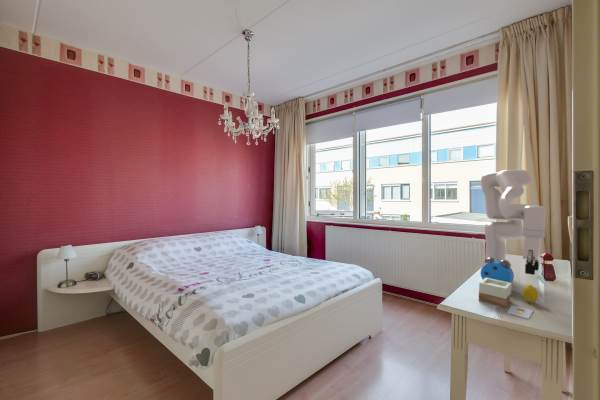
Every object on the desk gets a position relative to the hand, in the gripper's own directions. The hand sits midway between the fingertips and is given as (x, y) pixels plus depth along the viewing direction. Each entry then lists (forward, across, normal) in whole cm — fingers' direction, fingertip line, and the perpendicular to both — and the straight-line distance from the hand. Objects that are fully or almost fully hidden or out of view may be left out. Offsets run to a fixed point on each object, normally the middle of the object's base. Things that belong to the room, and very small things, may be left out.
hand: (531, 271), depth 124 cm
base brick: (+14, +9, -11) cm, 20 cm away
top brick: (+10, +10, -11) cm, 18 cm away
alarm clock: (+14, -12, -15) cm, 24 cm away
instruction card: (+14, +14, -1) cm, 20 cm away
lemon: (+14, -1, 0) cm, 14 cm away
